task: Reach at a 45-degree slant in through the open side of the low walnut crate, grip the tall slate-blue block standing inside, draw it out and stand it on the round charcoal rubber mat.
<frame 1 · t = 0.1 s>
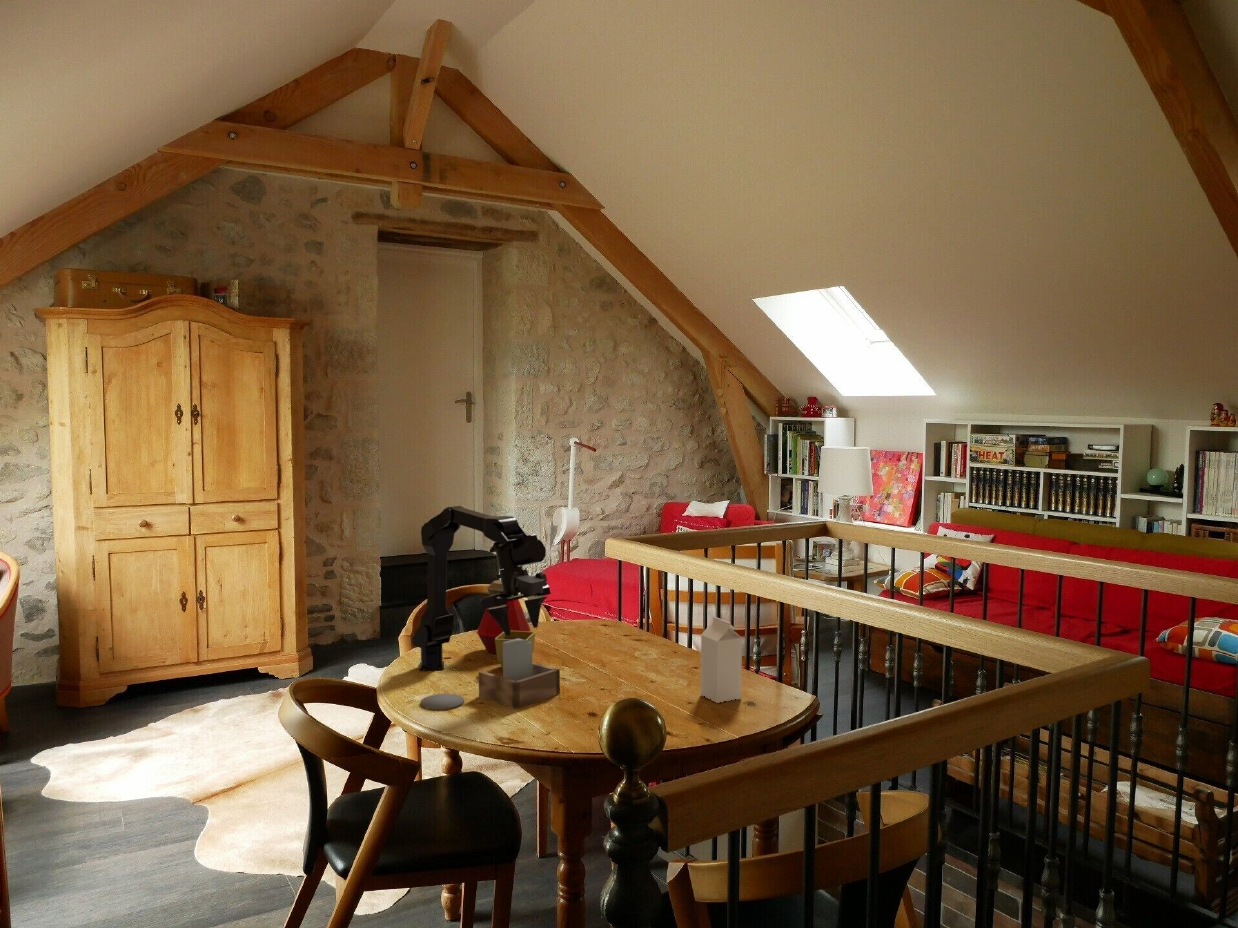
hand: (522, 631, 219), 15 cm above the table, tool pointing down, fingers open, 9 cm apart
mat: (442, 702, 213), on the table
crate: (517, 694, 220), on the table
flower pot: (515, 668, 241), on the table
bottle: (504, 651, 258), on the table
block: (517, 668, 219), in the crate
milk carton: (720, 698, 218), on the table
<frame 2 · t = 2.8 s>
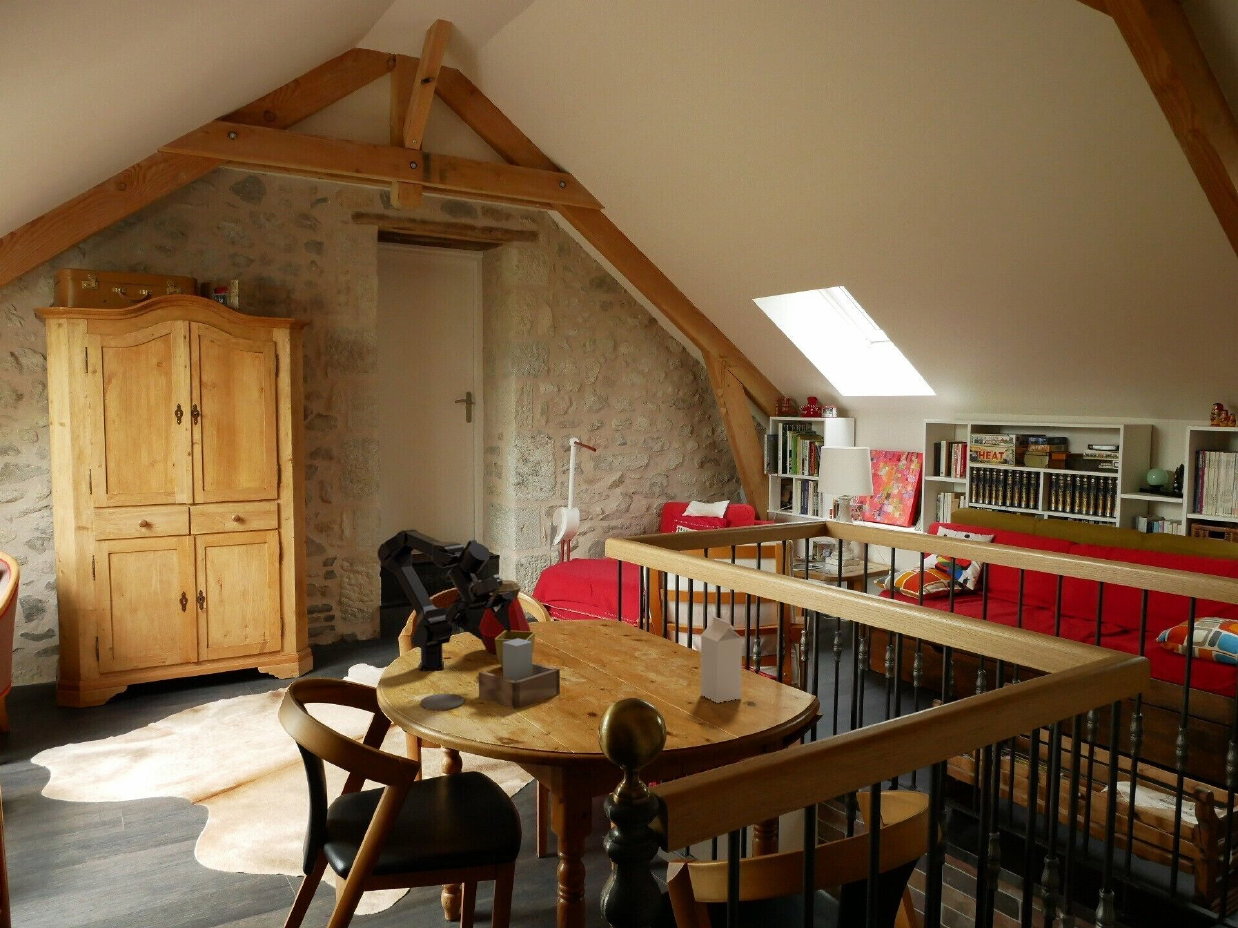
hand: (496, 634, 224), 13 cm above the table, tool tilted 45°, fingers open, 9 cm apart
nothing on the table moved.
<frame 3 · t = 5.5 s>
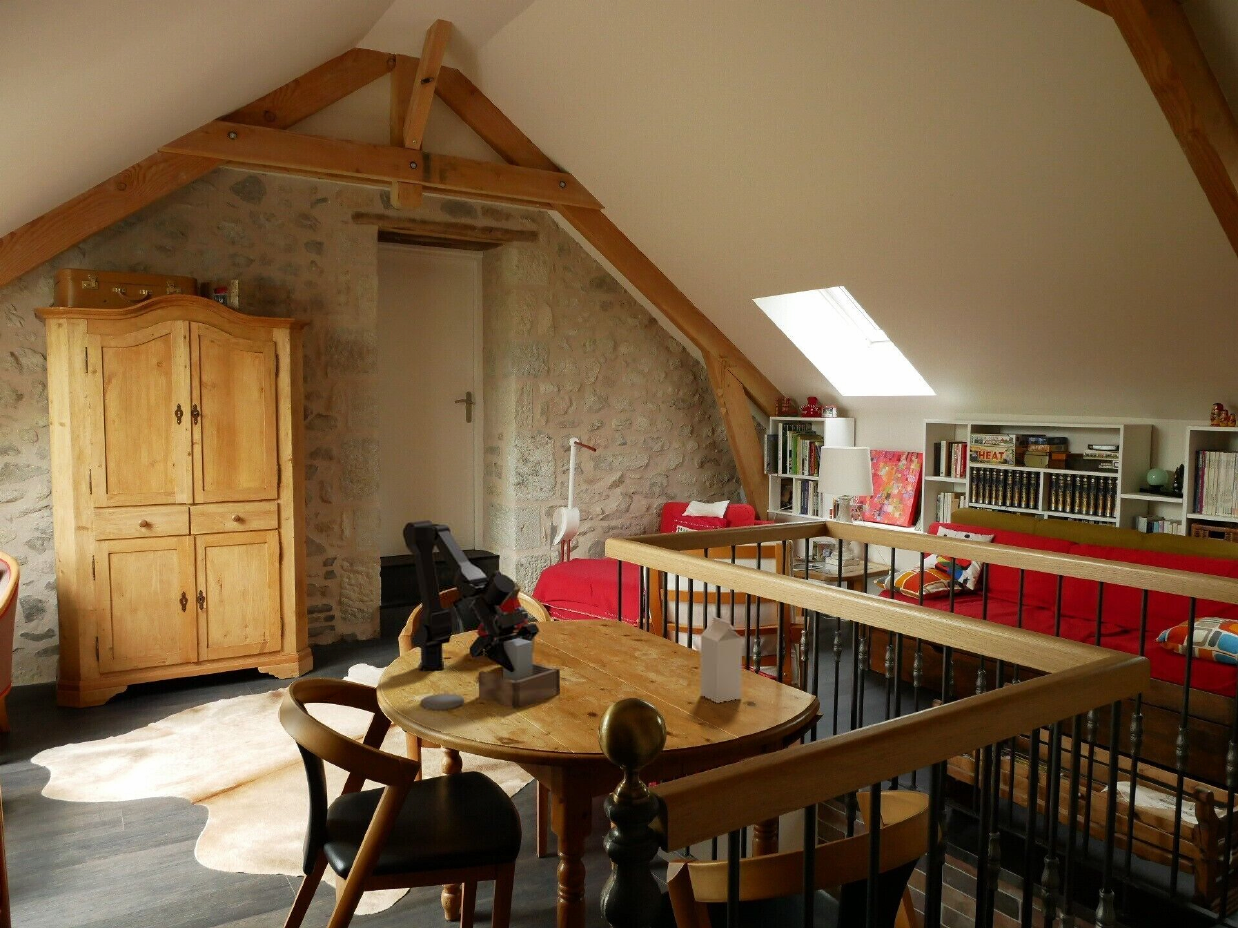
hand: (521, 668, 218), 7 cm above the table, tool tilted 45°, fingers closed on block, 5 cm apart
block: (517, 668, 219), in the crate, touching gripper
everything else where it was.
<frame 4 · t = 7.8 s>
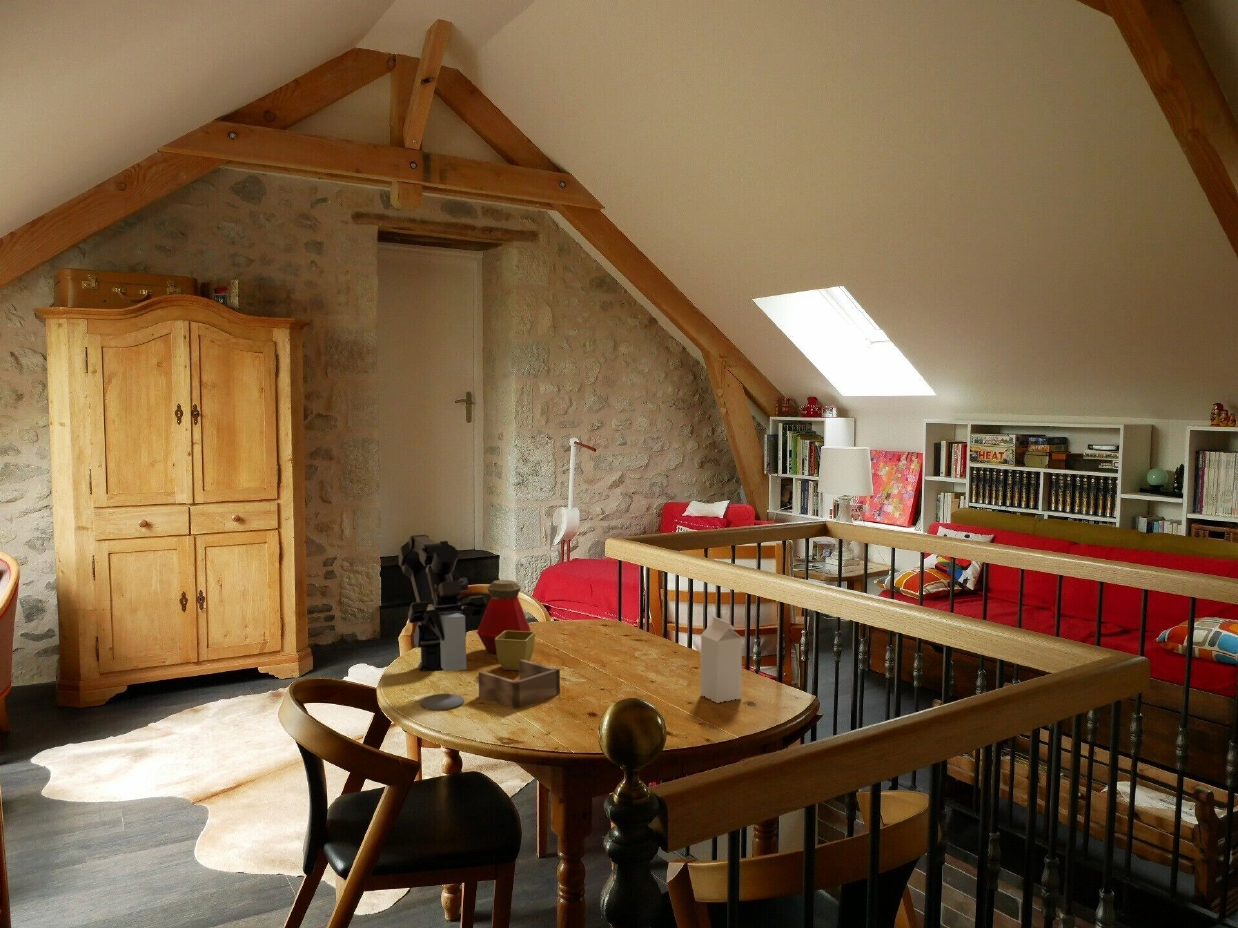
hand: (454, 638, 221), 13 cm above the table, tool tilted 45°, fingers closed on block, 5 cm apart
block: (452, 641, 222), point 12 cm above the table, touching gripper
everything else where it was.
when the fingers open (9 cm above the table, at t = 10.5 s): block stays where it is, resting on mat.
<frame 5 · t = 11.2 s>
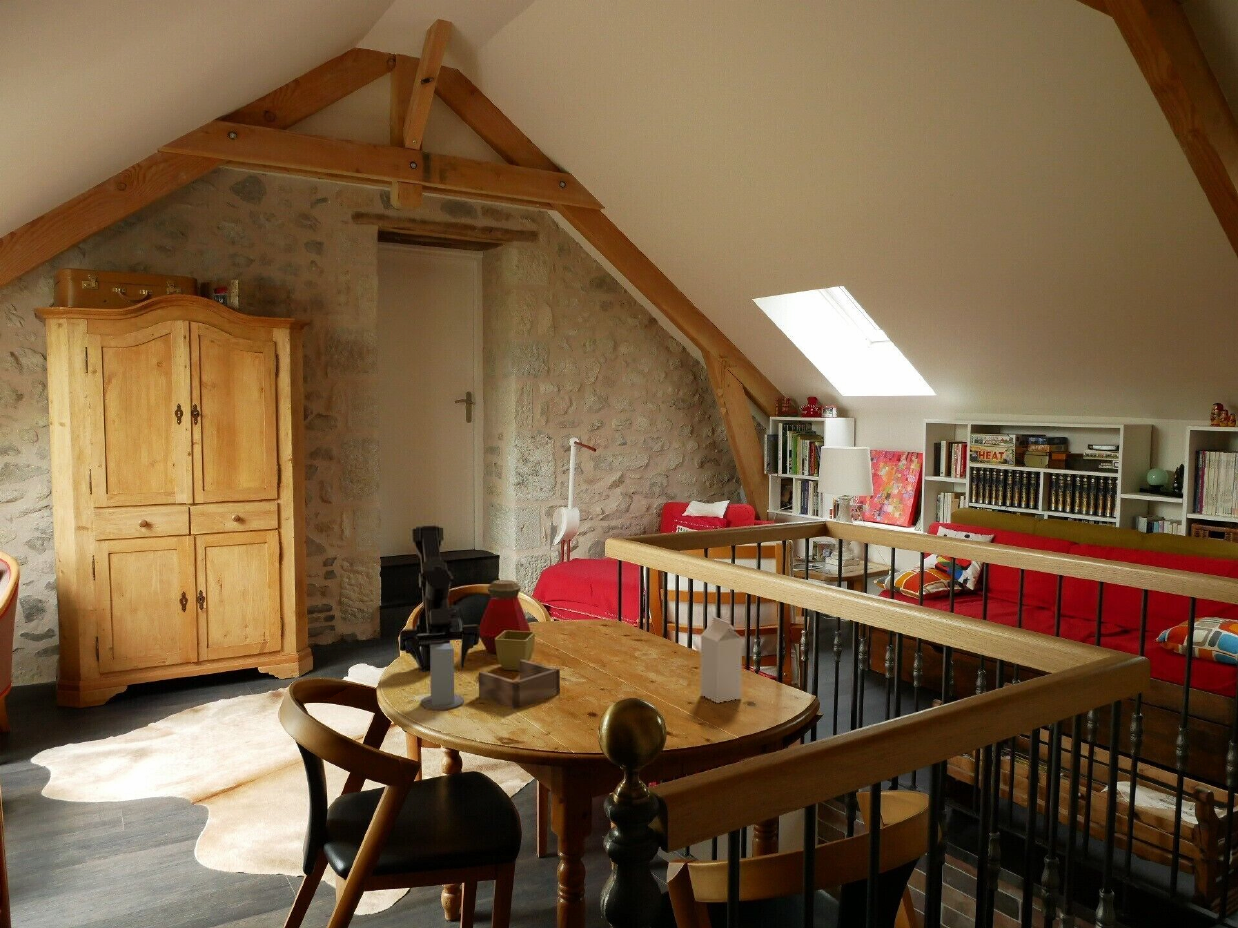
hand: (442, 668, 211), 9 cm above the table, tool tilted 45°, fingers open, 9 cm apart
block: (442, 673, 213), on the mat, point 7 cm above the table
everything else where it was.
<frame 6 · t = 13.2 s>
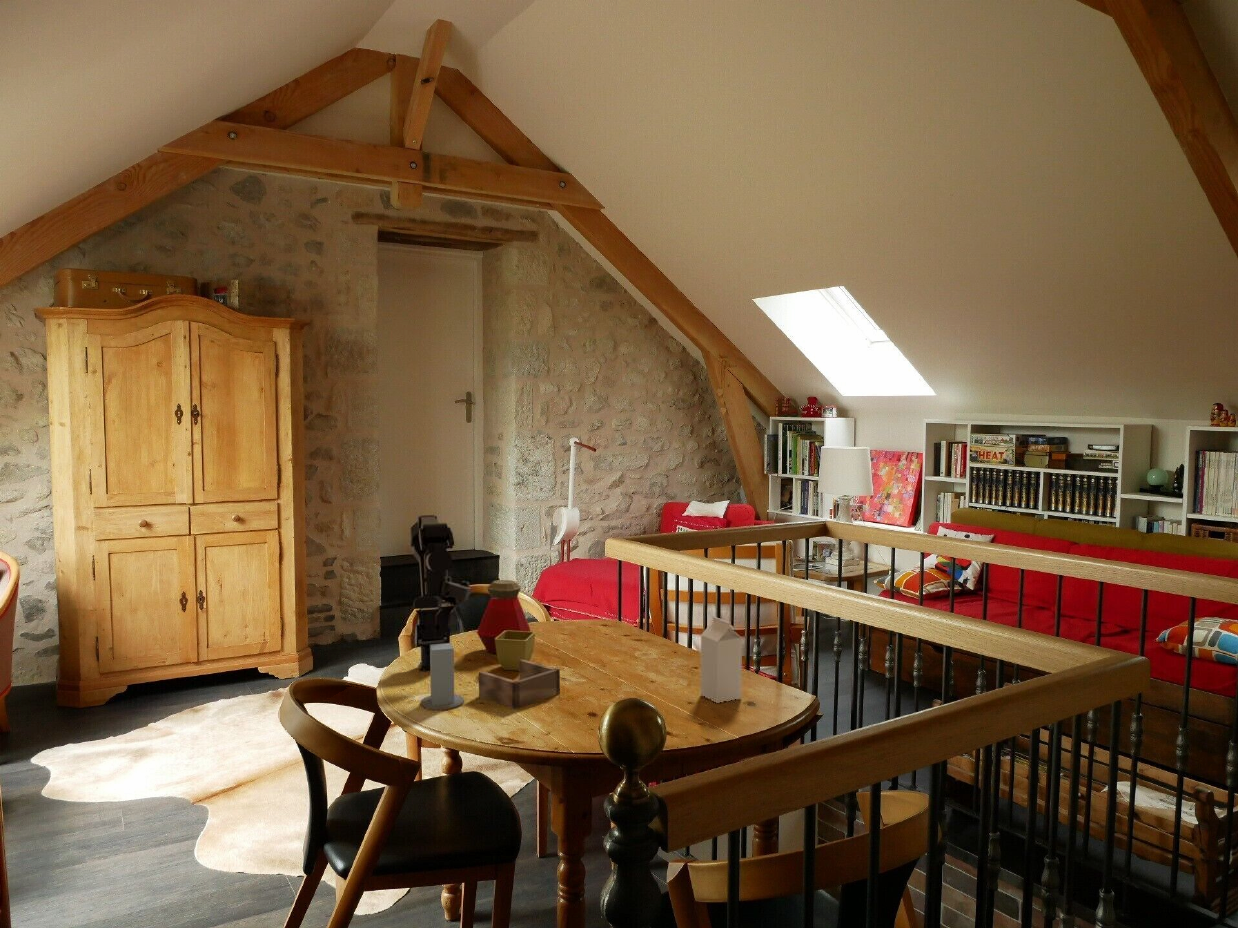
hand: (438, 635, 225), 13 cm above the table, tool pointing down, fingers open, 9 cm apart
nothing on the table moved.
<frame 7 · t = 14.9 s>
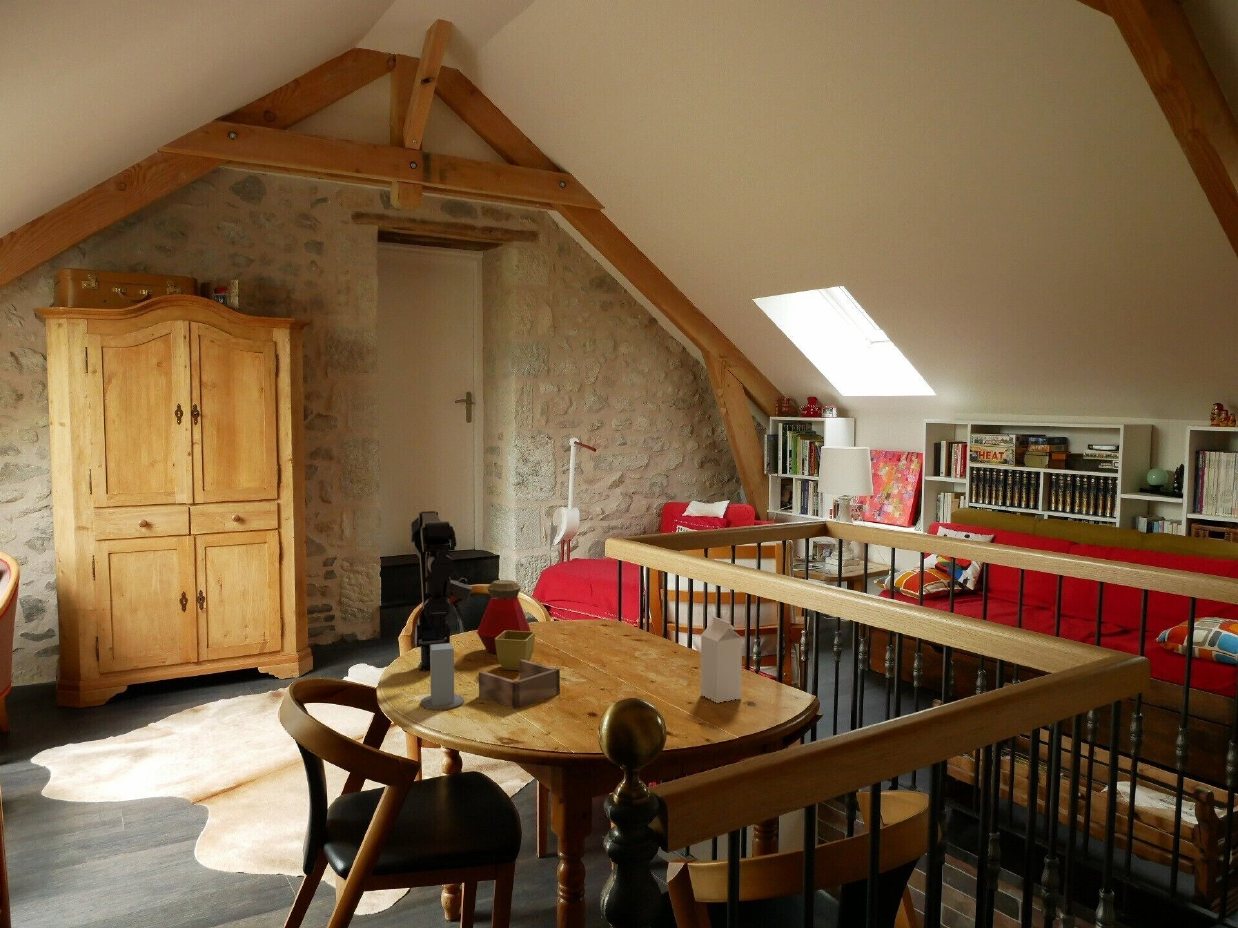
hand: (438, 633, 227), 13 cm above the table, tool pointing down, fingers open, 9 cm apart
nothing on the table moved.
at the end: block inside the target area on the mat (0.0 cm from its centre), point 7.1 cm above the mat's base; block tilted 0°; the gripper is holding nothing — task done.
